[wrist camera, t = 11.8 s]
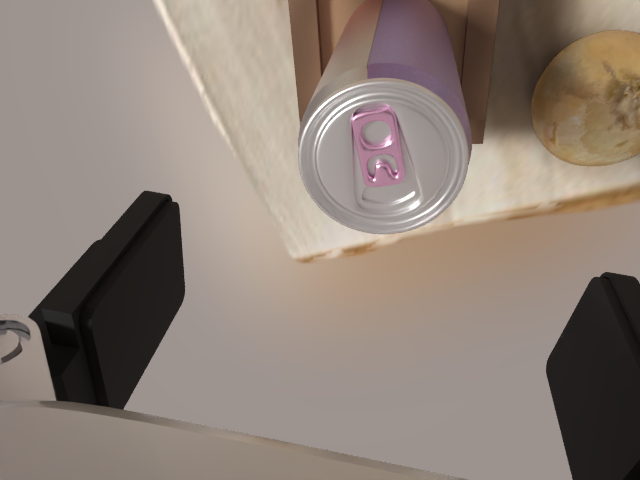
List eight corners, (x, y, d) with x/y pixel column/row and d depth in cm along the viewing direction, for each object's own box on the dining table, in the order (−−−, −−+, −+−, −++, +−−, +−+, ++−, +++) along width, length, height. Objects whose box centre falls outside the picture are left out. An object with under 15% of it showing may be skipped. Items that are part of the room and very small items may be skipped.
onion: (660, 121, 34) (710, 170, 29) (535, 157, 37) (557, 208, 31) (650, 0, 30) (706, 27, 25) (511, 49, 33) (532, 85, 27)
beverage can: (443, -24, 27) (468, 56, 15) (453, 88, 30) (480, 230, 18) (332, 1, 28) (270, 93, 16) (353, 105, 31) (314, 247, 19)
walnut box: (492, -79, 29) (508, -71, 25) (473, 108, 36) (482, 143, 31) (302, -66, 31) (283, -56, 26) (316, 110, 37) (301, 144, 33)
